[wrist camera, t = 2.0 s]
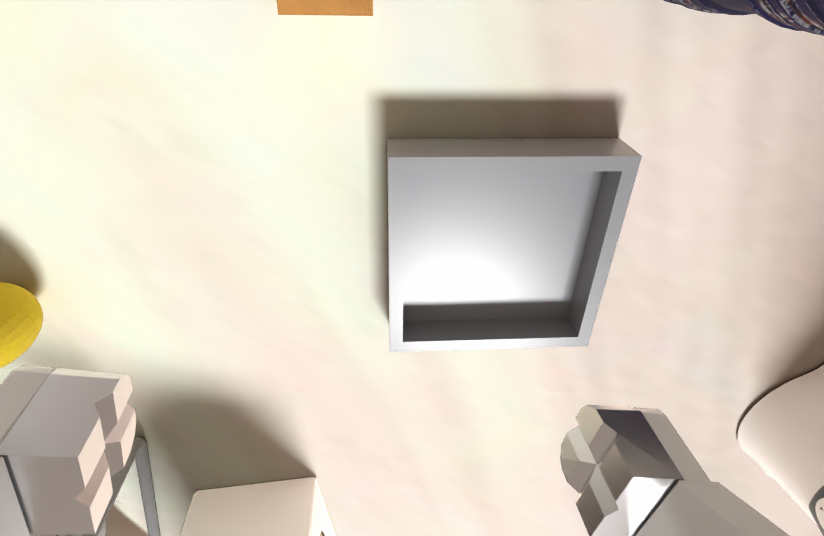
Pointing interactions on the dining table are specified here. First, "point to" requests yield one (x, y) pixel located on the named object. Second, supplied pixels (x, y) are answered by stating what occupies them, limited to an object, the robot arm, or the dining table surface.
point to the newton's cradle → (146, 488)
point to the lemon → (17, 321)
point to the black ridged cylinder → (768, 11)
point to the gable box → (260, 510)
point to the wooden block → (325, 7)
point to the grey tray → (502, 239)
